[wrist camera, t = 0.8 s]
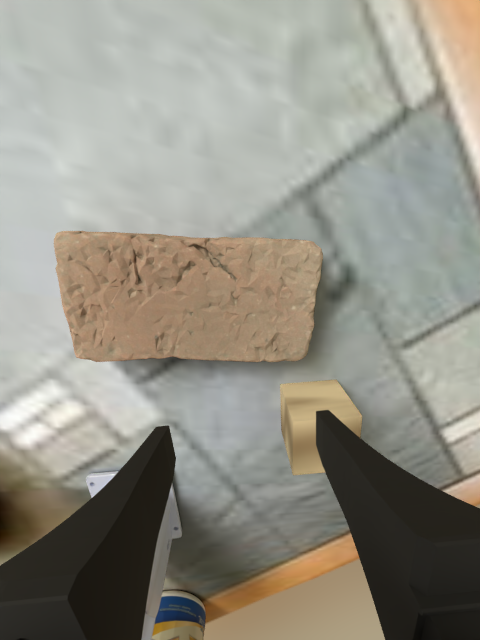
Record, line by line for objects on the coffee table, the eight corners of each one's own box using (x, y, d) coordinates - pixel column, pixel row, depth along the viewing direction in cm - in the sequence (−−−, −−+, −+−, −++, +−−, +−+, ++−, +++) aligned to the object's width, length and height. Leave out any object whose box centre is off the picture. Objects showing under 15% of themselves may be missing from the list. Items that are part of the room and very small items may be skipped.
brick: (311, 238, 20) (333, 240, 16) (299, 341, 23) (315, 368, 18) (86, 230, 19) (42, 230, 15) (101, 337, 22) (68, 364, 18)
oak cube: (333, 425, 25) (357, 469, 21) (281, 429, 25) (293, 475, 21) (335, 379, 24) (362, 416, 19) (280, 383, 24) (292, 421, 19)
